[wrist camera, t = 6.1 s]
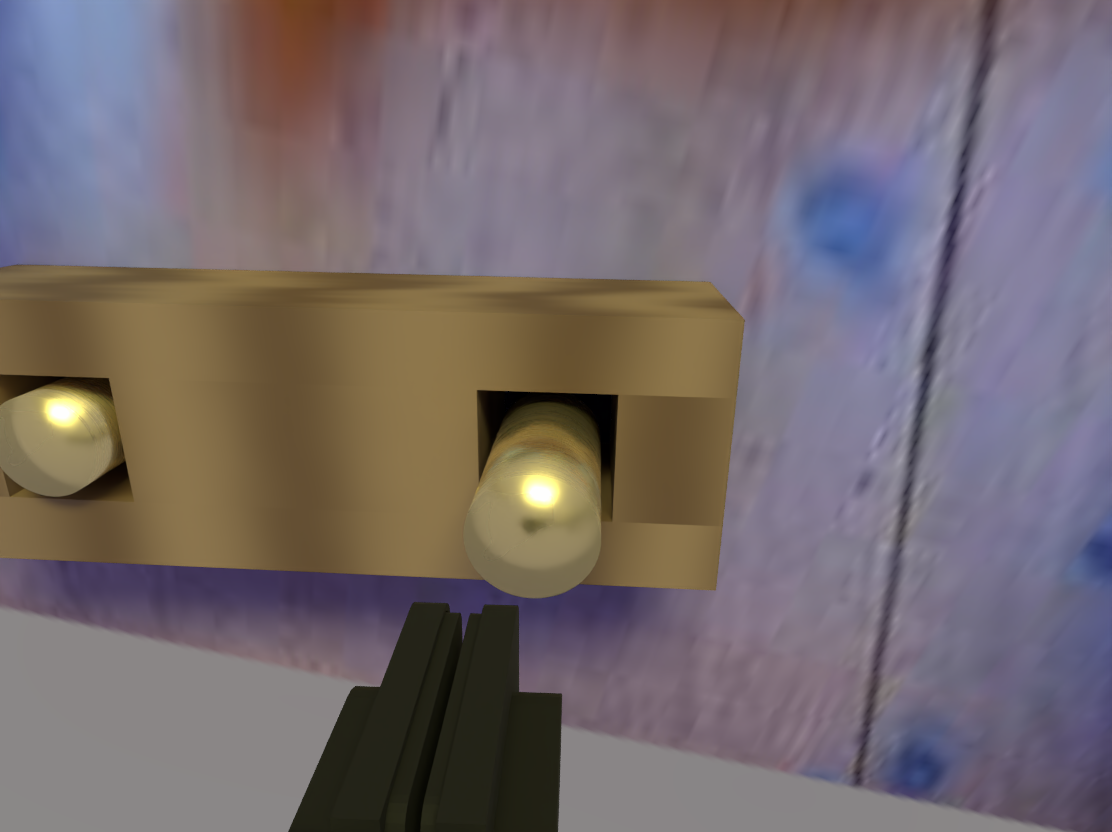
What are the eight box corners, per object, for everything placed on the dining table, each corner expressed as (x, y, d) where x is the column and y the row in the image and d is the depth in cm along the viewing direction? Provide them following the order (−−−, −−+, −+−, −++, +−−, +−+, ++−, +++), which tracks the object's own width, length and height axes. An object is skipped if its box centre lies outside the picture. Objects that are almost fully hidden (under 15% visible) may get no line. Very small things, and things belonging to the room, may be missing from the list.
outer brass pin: (199, 344, 25) (82, 398, 19) (212, 425, 26) (104, 498, 20) (116, 341, 25) (-25, 394, 19) (132, 422, 26) (2, 494, 20)
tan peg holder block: (710, 282, 24) (744, 319, 18) (690, 498, 26) (715, 590, 21) (16, 264, 25) (-154, 295, 19) (66, 473, 28) (-71, 554, 22)
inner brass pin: (602, 391, 21) (603, 478, 15) (598, 485, 22) (598, 601, 16) (499, 387, 21) (461, 473, 15) (500, 482, 22) (465, 595, 16)
